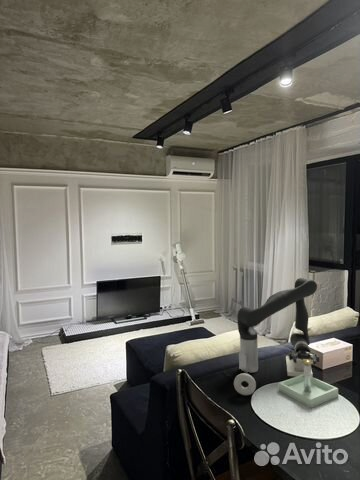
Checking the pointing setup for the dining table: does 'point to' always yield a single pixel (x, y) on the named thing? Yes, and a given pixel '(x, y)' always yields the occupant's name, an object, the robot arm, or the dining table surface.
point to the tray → (315, 397)
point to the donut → (247, 378)
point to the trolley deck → (295, 367)
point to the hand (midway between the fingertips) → (305, 362)
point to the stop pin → (307, 374)
